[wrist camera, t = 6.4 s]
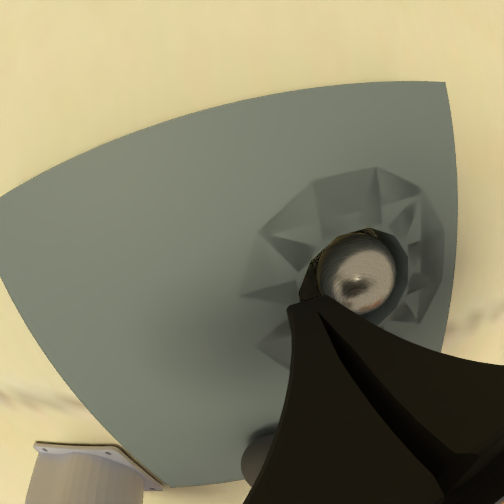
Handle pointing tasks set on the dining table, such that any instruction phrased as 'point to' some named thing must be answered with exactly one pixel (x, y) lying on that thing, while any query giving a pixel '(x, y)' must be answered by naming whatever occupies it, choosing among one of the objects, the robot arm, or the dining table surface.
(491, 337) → the dining table surface
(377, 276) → the steel ball
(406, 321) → the plate
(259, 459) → the black ball
